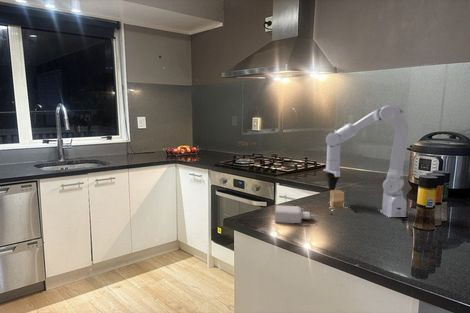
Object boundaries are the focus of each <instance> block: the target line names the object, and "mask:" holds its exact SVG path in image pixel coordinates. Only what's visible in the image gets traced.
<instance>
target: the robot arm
mask: <svg viewBox="0 0 470 313" xmlns="http://www.w3.org/2000/svg"><path fill="white" fill-rule="evenodd" d="M377 121H378V122H379V121H383V122H385V123H387V124H389V125H390V126H391V127H392V128H393V129H394V137H393V143H392V150H391V157H390V162H389V168H388V171H387V173H386V178H385V180H384V181H383V182H382V188H383V191H382V192H383V193H382V205H381V206H382V208H381V209H377V211H378V212H379V210H380V212H379V213H381V214H382V213H383V214H382V215H384V216H385V215H386V216H385V217H387V216H388V217H387V218H389V217H406V216H407V206H408V205H407V204H408V203H407V200H406V198H405V196H404V191H403V190H402V188H403V187H405V181H404V170H403V169H404V164H405V159H406V158H405V157H406V152H407V146H408V142H409V141H408V140H409V134H410V130H411V126H410V125H411V124H410V123H409V120H408V119H407V117H406V115H405V112H404V110H402V109H401V108H400V107H399V106H397V105H392V104H390V105H389V104H386V105H384V106H382V107H380V108H377V109H375V110H373V111H372V112H370V113H368V114H367V115H365V116H364V117H362V118H360V119H359V120H358V121H356V122H355V123H351V122H349V123H347V122H346V123H344V124H343V126H342V127H341V128H339V129H334V132H329V133H328V134H327V135H326V136H325V143H326V146H327V147H326V165H325V166H326V167H325V168H323V172H326V173H324V175H325V177H326V180H327V184H328V189H329V190H336V186H337V183H338V181H339V179H340V177H341V170H340V164H341V145H342V144H343V143H344V142H345V141H348V140H349V139H351V138H352V137H353V138H354V136H356V135H357V134H358V131H359V130H361V129H363V128H364V127H365V128H366V126H369V125H370V124H372V123H374V122H377Z"/></svg>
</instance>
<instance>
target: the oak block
mask: <svg viewBox="0 0 470 313" xmlns="http://www.w3.org/2000/svg"><path fill="white" fill-rule="evenodd" d="M329 190H330V189H329ZM329 194H330V195H329V196H330V197H329V203H330V206H331V207H344V203H345V192H344V191H343V190H341V189H340V190H339V189H335V190H330V192H329Z"/></svg>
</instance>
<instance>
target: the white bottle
mask: <svg viewBox="0 0 470 313" xmlns="http://www.w3.org/2000/svg"><path fill="white" fill-rule="evenodd" d="M274 214H275V215H274V218H275V219H274V220H275V221H274V222H275V223H279V224H294V223H299V224H301V223H302V220H310V219H311V217H313V218H315V217H316V214H314V213H310V211H304V210H303V211H302V208H301V207H300V206H298V205H296V206H294V205H280V204H279V205H275V211H274Z"/></svg>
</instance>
